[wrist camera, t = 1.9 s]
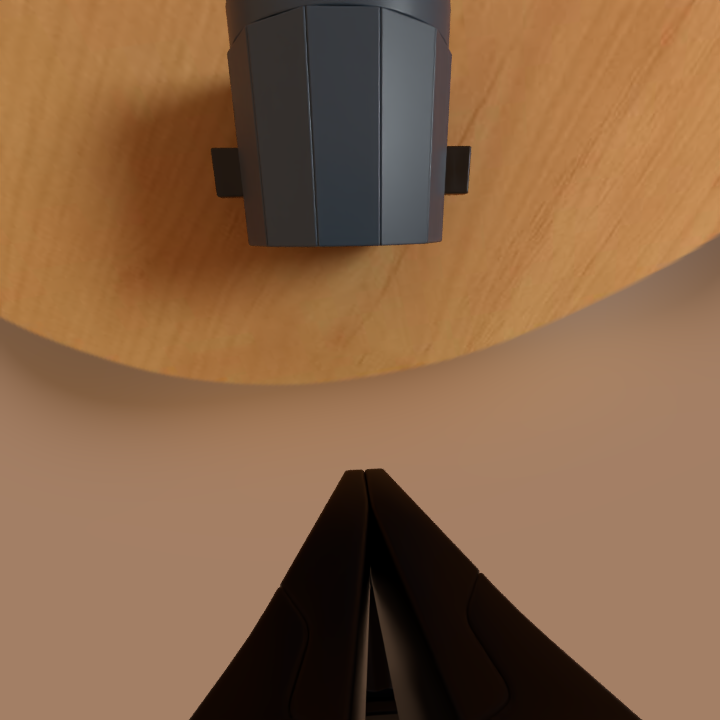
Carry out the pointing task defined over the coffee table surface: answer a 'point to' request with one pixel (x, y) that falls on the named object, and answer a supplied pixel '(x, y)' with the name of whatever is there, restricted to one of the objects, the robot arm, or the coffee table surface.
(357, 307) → the coffee table surface
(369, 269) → the coffee table surface
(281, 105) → the pot
